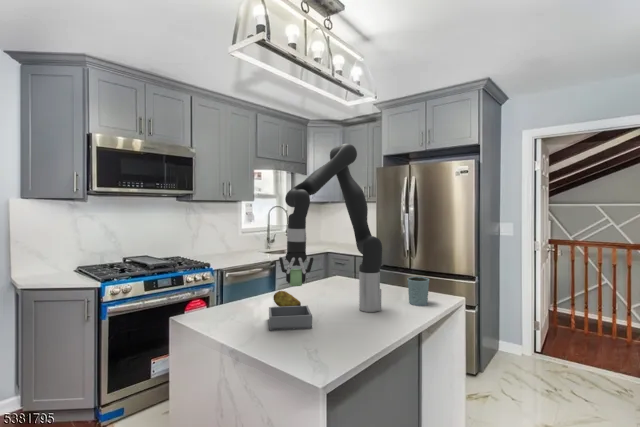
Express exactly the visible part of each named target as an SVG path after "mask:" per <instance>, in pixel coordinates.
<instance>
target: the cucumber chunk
mask: <svg viewBox="0 0 640 427" xmlns="http://www.w3.org/2000/svg"><path fill="white" fill-rule="evenodd" d="M288 284H289V286H290V287H302V286H303V283H302V270H301V268H291V270H290V283H288Z"/></svg>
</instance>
